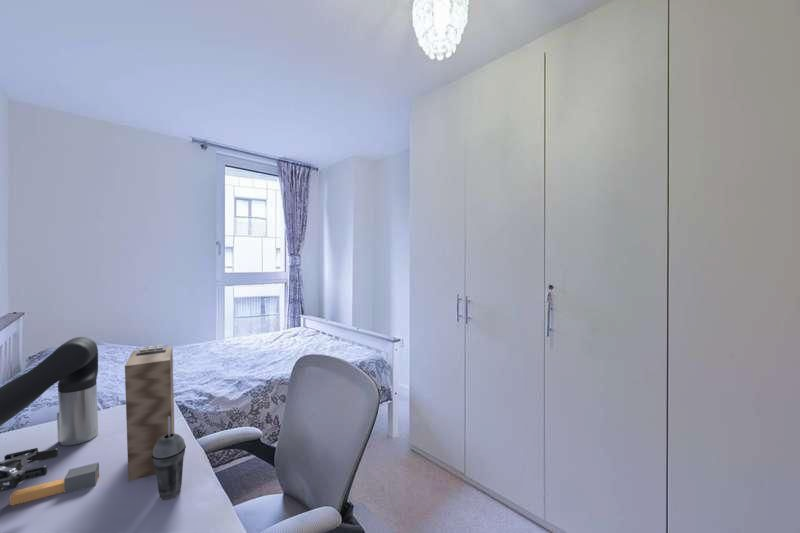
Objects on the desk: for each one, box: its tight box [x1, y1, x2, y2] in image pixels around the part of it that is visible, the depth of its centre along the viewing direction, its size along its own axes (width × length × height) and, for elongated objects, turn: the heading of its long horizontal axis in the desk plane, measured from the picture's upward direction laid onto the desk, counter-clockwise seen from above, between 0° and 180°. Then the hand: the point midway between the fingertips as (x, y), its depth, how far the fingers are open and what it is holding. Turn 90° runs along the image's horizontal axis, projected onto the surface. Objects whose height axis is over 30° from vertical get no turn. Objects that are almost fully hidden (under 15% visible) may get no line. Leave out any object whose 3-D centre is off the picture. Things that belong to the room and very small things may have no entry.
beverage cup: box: [152, 416, 187, 501], centre depth 88 cm, size 7×7×20 cm
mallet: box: [9, 462, 100, 506], centre depth 89 cm, size 16×4×4 cm, turn 122°
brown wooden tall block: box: [124, 344, 176, 483], centre depth 101 cm, size 10×16×33 cm, turn 32°
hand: (52, 460), depth 88 cm, fingers open, 8 cm apart
